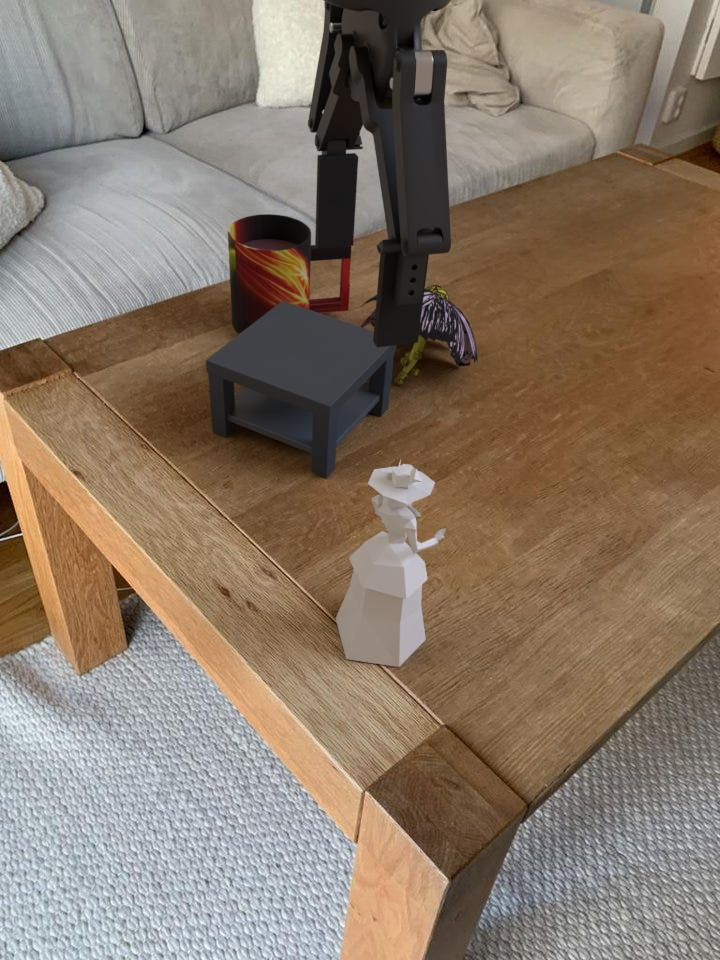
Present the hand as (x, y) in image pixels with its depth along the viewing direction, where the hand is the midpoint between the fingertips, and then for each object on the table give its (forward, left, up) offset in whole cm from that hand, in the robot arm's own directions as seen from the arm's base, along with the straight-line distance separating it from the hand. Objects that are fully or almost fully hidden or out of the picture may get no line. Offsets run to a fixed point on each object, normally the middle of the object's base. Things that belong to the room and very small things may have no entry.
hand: (362, 289), depth 56 cm
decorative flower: (-8, +31, -27) cm, 42 cm away
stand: (-14, +15, -27) cm, 34 cm away
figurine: (+6, -6, -27) cm, 28 cm away
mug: (-27, +32, -27) cm, 50 cm away
